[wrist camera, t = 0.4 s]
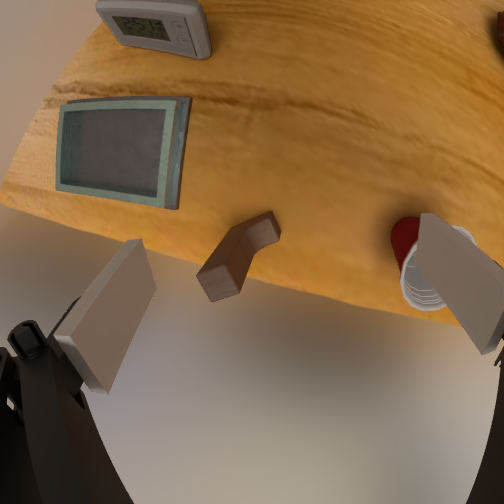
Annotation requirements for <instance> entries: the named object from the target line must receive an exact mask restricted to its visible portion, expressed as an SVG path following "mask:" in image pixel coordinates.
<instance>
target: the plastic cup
mask: <svg viewBox="0 0 504 504" xmlns="http://www.w3.org/2000/svg"><path fill="white" fill-rule="evenodd" d="M451 226H452V227H453V228H455V229H456V230H457V231H458V232H460V233H461V234H462V235H464V236H465V237H466V238H467V239H469V240H470V241H471V242H472V243H473V244H475V245H476V246H477V244H476V242H475V240H474V238H473V236H472V234H471V233H470V232H468V231H467V230H465V229H464V228H462V227H461V226H457V225H451ZM419 227H420V218H417V217H406V218H403V219H401V220H400V221H399V222H398V223H396V224H395V226H394V228H393V230H392V234H391V243H392V247H393V250H394V253H395V257H396V260H397V263H398V266H399V269H400V272H401V275H400V283H401V288H402V294H403V297H404V298H405V299H406V300H407V302H408V303H409V304H410V305H411V306H412V307H414V308H417V309H419V310H422V311H430V310H439V309H441V308H443V307H445V306H447V305H446V303H445V302H444V301H443V300H442V298H441V297H440V296H439V294H438V293H437V292H436V291H435V289H434V288H433V287H432V285H431V284H430V283H429V282H428V281H427V279H426V278H425V277H424V276H423V274H422V273H421V272H420V271H419V270H418V268H417V267H416V266H415V265H414V261H415V255H416V249H417V242H418V235H419ZM477 247H478V246H477Z"/></svg>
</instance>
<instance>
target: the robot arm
mask: <svg viewBox="0 0 504 504" xmlns="http://www.w3.org/2000/svg"><path fill="white" fill-rule="evenodd" d="M414 265H415V266H416V267H417V268H418V270H419V271H420V272H421V273H422V274H423V276H424V277H425V278H426V279H427V281H428V282H429V283H430V284H431V285H432V287H433V288H434V289H435V291H436V292H437V293H438V294H439V296H440V297H441V298H442V300H443V301H444V302H445V303H446V305H447V306H448V307H449V309H450V310H451V311H452V313H453V314H454V316H455V317H456V318H457V320H458V321H459V322H460V324H461V325H462V327H463V328H464V329H465V331H466V332H467V334H468V335H469V337H470V338H471V340H472V341H473V342H474V344H475V346H476V347H477V349H478V350H479V351H480V353H481V355H484V354H487V353H489V352H492V351H494V350H495V349H496V347H497V346H498V344H499V342H500V340H501V338H502V339H503V340H504V270H503V268H502V267H501V266H500V265H499V264H498V263H497V262H495V261H494V260H492V259H491V258H490V257H489V256H488V255H487V254H485V253H484V252H483V251H482V250H481V249H479V248H478V247H477V246H476V245H475V244H473V243H472V242H471V241H470V240H469V239H467V238H466V237H465V236H464V235H462V234H461V233H460V232H458V231H457V230H456V229H455V228H453V227H452V226H451V225H449V224H448V223H447V222H445V221H444V220H443V219H441V218H440V217H439V216H437V215H436V214H434V213H421V219H420V227H419V235H418V242H417V249H416V255H415V261H414ZM155 291H156V284H155V281H154V278H153V275H152V272H151V269H150V265H149V262H148V259H147V255H146V252H145V248H144V245H143V241H142V239H134V240H127V242H126V243H125V244H124V245H123V246H122V247H121V248H120V250H119V251H118V252H117V253H116V254H115V256H114V257H113V258H112V259H111V260H110V261H109V263H108V264H107V265H106V266H105V267H104V269H103V270H102V271H101V272H100V273H99V275H98V276H97V277H96V278H95V280H94V281H93V282H92V283H91V285H90V286H89V287H88V288H87V290H86V291H85V292H84V293H83V295H82V296H80V297H79V298H78V299H77V300H75V301H74V302H73V303H72V304H71V306H70V307H69V308H68V310H67V312H66V313H65V314H64V315H63V317H62V319H60V321H59V322H58V323H57V325H56V326H55V328H54V329H53V330H52V332H51V333H50V334H49V336H48V337H47V339H46V338H45V336H44V335H43V333H42V331H41V330H40V328H39V326H38V324H37V323H36V321H34V320H27V321H24V322H22V323H20V324H19V325H17V326H16V327H15V328H14V329H13V330H12V331H11V332H10V334H9V336H8V339H7V340H8V342H9V343H10V345H11V346H12V348H13V349H14V351H15V352H16V354H17V355H18V356H16V357H12V356H11V355H10V353H9V352H8V351H7V349H6V348H4V347H0V504H134V503H133V501H132V499H131V498H130V496H129V494H128V492H127V491H126V489H125V487H124V485H123V483H122V482H121V480H120V478H119V476H118V474H117V472H116V470H115V468H114V466H113V464H112V462H111V460H110V457H109V455H108V453H107V451H106V449H105V447H104V445H103V442H102V440H101V438H100V435H99V432H98V430H97V428H96V425H95V422H94V420H93V417H92V415H91V412H90V409H89V406H88V403H87V401H86V398H85V395H84V393H83V392H82V391H81V389H80V388H81V385H82V384H83V381H84V382H85V384H86V385H87V386H88V388H89V389H90V390H91V391H92V392H96V393H103V394H109V391H110V389H111V387H112V384H113V382H114V379H115V377H116V375H117V372H118V370H119V368H120V365H121V363H122V361H123V358H124V356H125V354H126V352H127V350H128V347H129V345H130V343H131V341H132V338H133V336H134V334H135V332H136V330H137V328H138V326H139V323H140V321H141V319H142V317H143V315H144V313H145V311H146V309H147V307H148V305H149V303H150V301H151V299H152V297H153V295H154V293H155ZM500 360H501V365H500V366H499V367H500V368H501V369H500V378H499V386H498V393H497V399H496V405H495V410H494V415H493V420H492V425H491V429H490V433H489V437H488V441H487V445H486V449H485V452H484V455H483V459H482V462H481V465H480V468H479V471H478V474H477V477H476V480H475V482H474V485H473V488H472V490H471V493H470V495H469V498H468V500H467V502H466V504H504V347H503V349H502V351H501V352H500V354H499V356H498V358H497V359H496V361H495V364H494V366H496V365H497V364H498V362H499V361H500ZM7 397H8V398H9V399H10V400H11V402H12V403H13V404H14V409H13V410H12V409H11V408H10V407H9V406H8V405H7Z"/></svg>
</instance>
